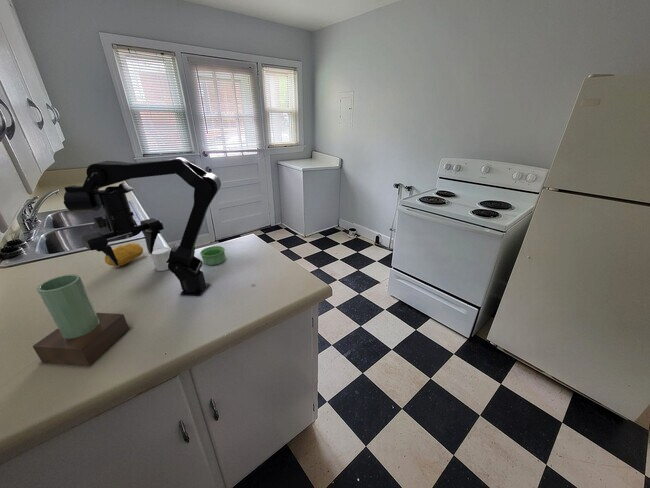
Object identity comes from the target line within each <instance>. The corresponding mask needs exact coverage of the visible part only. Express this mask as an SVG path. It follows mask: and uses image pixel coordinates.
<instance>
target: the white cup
mask: <svg viewBox="0 0 650 488" xmlns="http://www.w3.org/2000/svg"><path fill="white" fill-rule="evenodd" d="M170 251H171V247H168V246H163V247H158V248H153V252H152V254H150V253H149V252H148V253H149V256H150V258H151V260H152V262H153V265H154V267H155V270H156V271H158V272H164V271H167V270H168V271H169V269H168V263H166V262H167V260H168V259H169V254H170Z"/></svg>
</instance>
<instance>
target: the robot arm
mask: <svg viewBox="0 0 650 488" xmlns="http://www.w3.org/2000/svg"><path fill="white" fill-rule="evenodd" d="M168 175H176V176H178V177H179V178H181V179H182V180H183V181H184V182H185V183H186V184H188V186H190V187H192V189H194V190H193V205H192V208H191V210H190V214H189V217H188V220H187V223H186V226H185V229H184V231H183V235H182V237H181V241H180V243H175V244H174V245H173V246H172V248H170V250H171V251H170V254H169V259H168V260H167V262H166V263H168V271H170V272H171V273H172V274H173V275H174V276H175V277H176V279H178V281H179V284H180V287H181V292H180V295H181V296H199V297H200V296H201V295H202V294H203V293H204V291H205V290H206V289H207V288H208V287H209V286H210V284H209V283H208V282H206V280H205V279H206V278H205V275H204V271H203V270H201V268H202V266H203V260H201V259H199V257H196V256H195V254H196V243H197V240H198V238H199V235H200V232H201V228H202V226H203V223H204V221H205V218H206V215H207V212H208V210H209V207H210V205H211V203H212V202H213V201H214V198H215V197H216V195H217V194H218V192H219V191H220V189H221V186H222V182H221V180H220V177H219V176H218V175H216V174H214V173H211V172H210V173H209V172H208V171H206V170H204V169H203V168H201V167H200V166H197V165H195V164H194V163H192V162H190V161H189V160H188V159H186V158H185V157H180V156H179V157H176V158H169V159H158V160H150V161H149V160H148V161H137V162H126V161H120V160H119V161H118V160H117V161H116V160H104V161H101V162H100V161H99V162H96V163H91V164H89V165H88V166H87V168H86V178H85V180H84V182H83V184H82V185H67V186H64V191H65V192H64V195H63V205H64V206H65V208H66V209H67V210H68V211H69V212H73V213H79V212H93V211H94V212H95V211H99V210H100V209H101V208H102V209H103V210H104V213H103V214H104V217H105V218H103V216H98V217H93V218H92V221H93V223H94V226H95V228H96V230H101V229H105V231H106V232H107V231H108V232H109V233H105V234H102V233H101V232H94V233H90V234H86V235H83V236H82V237H81V243H82V245H83V247H84V248H86V249H88V250H90V251H96V252H98V253H99V252H101V253H103V254H104V255H107V257H108V258H109V259H110V260H111V261H112V262H113V263H114V264H115V265H116V266H115V267H119V266H118V261H117V259H116V257H115V254H114V252H113V250H112V249H113V248H112V246H111V245H109V242H110V241H113V240H117V239H120V238H123V237H127V236H130V235H134V234H138V233H141V232H142V235H143V237H144V240H145V244H146V248H147V252H148V253H150V254H152V252H153V250H154V247H155V243H156V239H157V237H158V235H159V234H161V231H163V230H165V227H164V224H163V222H162V221H161V220H159V219H156V218H154V217H151V218H147V219H144V220H140V224H139V225H137V224H136V222H135V219H134V216H135V215H134V212H133V211H132V209H131V207H130V204H129V201H128V200H129V199H128V198H127V194H128V193H130V192H132V191H133V190H134V187H131V186H130V185H128V184H126V183H125V181H128V180H131V179H141V178H149V177H158V176H168ZM118 183H119V184H118ZM114 184H118V185H115V186H114ZM112 185H113V186H112ZM104 187H105V189H101V188H104ZM150 254H149V255H150Z"/></svg>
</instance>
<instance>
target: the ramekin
mask: <svg viewBox="0 0 650 488" xmlns="http://www.w3.org/2000/svg"><path fill="white" fill-rule="evenodd" d="M225 249H226V248H225V247H223V246H221V245H213V246H207V247H205V248H203V249H202V250H201V251H200V252H199V254H200V256H201V259H202V263H203V264H205V265H207V266H215V265H219V264H221V263H223V262H224V261H225V260H226V255H225V254H226V253H225Z"/></svg>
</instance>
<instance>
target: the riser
mask: <svg viewBox="0 0 650 488" xmlns="http://www.w3.org/2000/svg"><path fill="white" fill-rule="evenodd" d="M96 314H97V316H98V318H99V325H98V326H97V327H96V328H95V329H94V330H92V331H91V332H89V333H87V334H85V335H83V336H80V337H77V338H71V339H67V338H64V337H63V336H62V335H61V333H60V332H59V330H58V328H56V329H54V330H53V331H52V332H50V333H49V334H48V335H46V336H44V337H43V338H41V340H39V341H37V342H36V343H34V344H33V345H32V348H33V350H34V351H35V353H36V356H38V358H39V360H40V361H41V363H43V364H45V363H47V364H58V365H75V366H91V365H92V364H94V363H95V361H97V360H98V359H100V357H101V356H102V355H103V354H104V353H105V352H107V351H108V350H109V348H111V347H112V346H113V345H114V344H115V343H116V342H117V341H118V340H119V339H121V337H123V335H125V333H127V332H128V331H129V330H130V327H129V325H128V323H127V322H128V321H127V319H126V318H125V315H124V313H113V312H112V313H109V312H96Z"/></svg>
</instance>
